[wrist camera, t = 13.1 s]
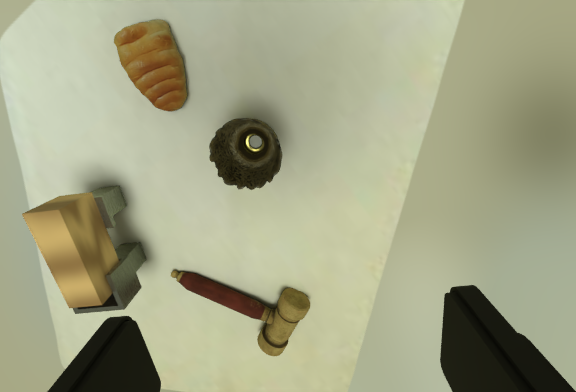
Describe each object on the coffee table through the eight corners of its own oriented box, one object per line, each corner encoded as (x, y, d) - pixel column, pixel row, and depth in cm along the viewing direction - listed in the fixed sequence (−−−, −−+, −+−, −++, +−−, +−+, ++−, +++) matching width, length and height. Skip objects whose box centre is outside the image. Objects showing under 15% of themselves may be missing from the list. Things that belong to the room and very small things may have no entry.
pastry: (204, 99, 36) (193, 101, 32) (156, 118, 37) (140, 122, 33) (167, 16, 33) (151, 8, 29) (116, 39, 34) (95, 34, 30)
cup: (217, 121, 36) (197, 131, 29) (273, 103, 35) (267, 108, 28) (238, 176, 39) (225, 198, 31) (291, 160, 38) (290, 179, 30)
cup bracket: (107, 239, 43) (58, 280, 34) (149, 235, 43) (110, 275, 34) (119, 268, 45) (75, 313, 36) (159, 264, 44) (124, 309, 35)
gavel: (154, 306, 44) (173, 254, 40) (169, 287, 48) (187, 239, 45) (281, 361, 45) (310, 315, 42) (284, 338, 49) (311, 294, 46)
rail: (59, 196, 34) (21, 214, 29) (91, 192, 34) (58, 209, 29) (97, 280, 38) (69, 308, 34) (125, 277, 38) (102, 305, 33)
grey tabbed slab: (87, 186, 40) (53, 202, 34) (129, 180, 40) (101, 196, 34) (98, 212, 41) (67, 232, 36) (138, 207, 41) (113, 227, 35)
